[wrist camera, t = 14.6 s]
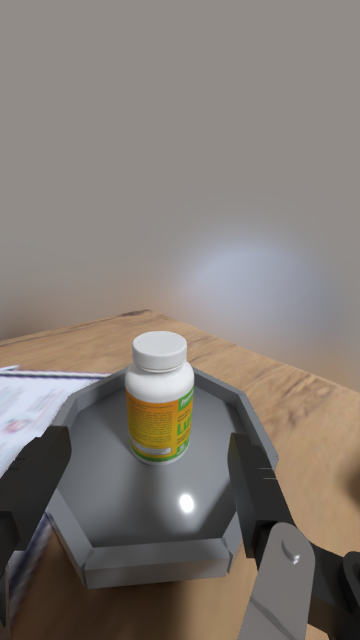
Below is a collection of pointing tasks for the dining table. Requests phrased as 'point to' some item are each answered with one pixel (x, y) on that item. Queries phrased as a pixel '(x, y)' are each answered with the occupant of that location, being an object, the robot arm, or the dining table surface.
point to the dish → (150, 489)
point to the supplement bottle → (159, 398)
